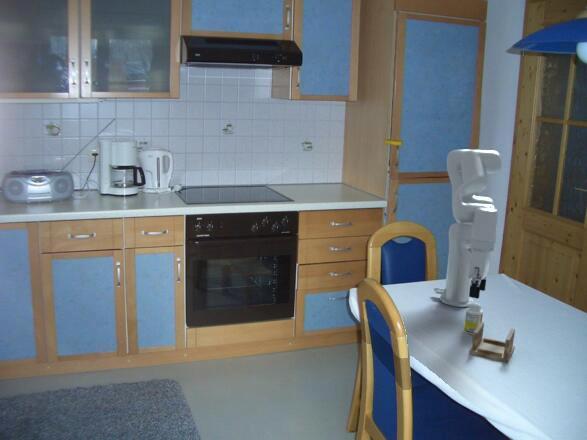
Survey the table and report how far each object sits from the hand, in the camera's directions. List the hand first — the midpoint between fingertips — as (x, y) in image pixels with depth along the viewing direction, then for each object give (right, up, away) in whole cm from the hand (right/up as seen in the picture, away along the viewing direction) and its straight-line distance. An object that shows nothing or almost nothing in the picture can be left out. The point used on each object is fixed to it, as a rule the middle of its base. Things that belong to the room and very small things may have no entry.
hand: (477, 293), depth 216 cm
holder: (+2, -17, -10) cm, 20 cm away
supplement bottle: (-1, -14, +4) cm, 15 cm away
